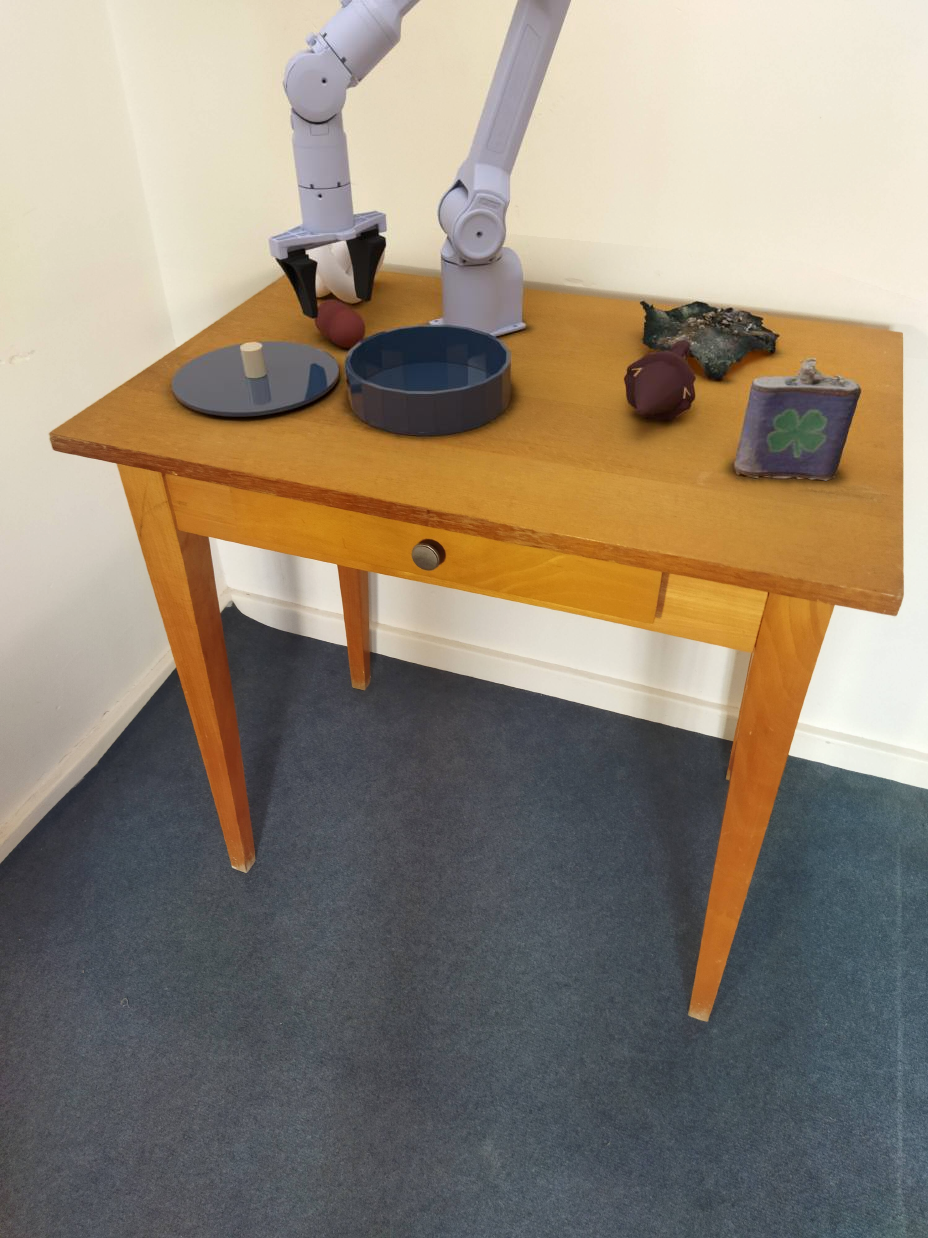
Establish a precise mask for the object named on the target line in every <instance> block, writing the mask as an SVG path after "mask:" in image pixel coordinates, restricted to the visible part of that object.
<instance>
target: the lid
mask: <svg viewBox="0 0 928 1238" xmlns="http://www.w3.org/2000/svg"><path fill="white" fill-rule="evenodd" d="M339 376H340V367H339V364H338V361H337V360H336V359H335V358H334V357H333V356H332V355H331V354H330V353H328V352H327V351H325V350H323V349H321V348H319V347H316V346H313V345H310V344H305V343H299V342H292V341H282V340H281V341H280V340H279V341H278V340H266V341H249V342H244V343H238V344H233V345H228V346H224V347H221V348H217V349H213V350H211V351H208V352H206V353H203V354H200V355H199V356H197V357H195V358H193V359H191V360H189V361H188V362H187V363H185V364H183V366H181V367H180V368H179V369H178V370H177V371H176V372H175V373H174V375H173V376H172V377H173V378H172V380H171V389H172V393H173V395H174V397H175V398H176V399H177V401H178V402H179V403H181V404H182V405H184V406H185V407H187V408H189V409H191V410H194V411H197V412H200V413H204V414H208V415H213V416H221V417H235V418H236V417H256V416H257V417H258V416H264V415H271V414H277V413H281V412H285V411H290V410H293V409H297V408H299V407H302V406H305V405H307V404H309V403H311V402H314V401H315V400H318V399H319V398H321V397H323V396H324V395H325V394H327V393H328V392H329V391H331V389H332V388H334V386H335V385H336V383H337V382H338V380H339Z"/></svg>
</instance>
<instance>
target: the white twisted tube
mask: <svg viewBox="0 0 928 1238" xmlns="http://www.w3.org/2000/svg"><path fill="white" fill-rule="evenodd" d="M379 235H381V233H379ZM306 254H308V255H309V258H310V259H312V260H315V261H316V262H318V264H317V270H316V297H317V298H322V297H325V296H328V295H330V294H331V293H332V294H333V295H334V296H335V297H336V298H337V299H339V300H341V302H345V303H348V304H357V303H360V302H361V301H362V300H361V299H359V298H357V296H356V292H355V287H354V278H353V269H352V263H351V259H350V254H349V251H348V247H347V244H346V241H340V242H336V243H333V244H329V245H325V246H321V247H318V248H314V249H310V250H306ZM385 257H386V249H385V250H384V252H383V254H382V256H381V258H380V261H379V263H378V266H377V270H376V274H375V276H377V274H378V273H379V271H380V270H381V267H382V266H383V264H384V261H385V259H386V258H385Z"/></svg>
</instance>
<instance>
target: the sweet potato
mask: <svg viewBox="0 0 928 1238" xmlns="http://www.w3.org/2000/svg"><path fill="white" fill-rule="evenodd" d="M314 325H315V326H316V327H315V328H317V330H318V331H319V332H320V333H321V334H322V335H323V336H324V337H325V338H327V339H328V340H329V341H331V342H332V343H334V344H335V345H337V346H339V347H341V348H343V349H344V348H345V349H346V348H347V349H351V348H352V347H354V346H355V345H356V344H357V343H358V342H359V341H361V340H363V339H364V337H365V333H366V324H365V321H364V319H363V317H362V316H361V315H360V314H359V313H358V312H357V311H355V310H354V309H352V308H351V307H349V306H348V305H346V304H345V303H343V301H339V300H337V299H327V300H324V301H323V302H321V303H320V304H319V305H318V317H317V318H314Z"/></svg>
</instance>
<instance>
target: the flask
mask: <svg viewBox="0 0 928 1238" xmlns="http://www.w3.org/2000/svg"><path fill="white" fill-rule="evenodd" d="M805 361H806V362H804V360H803V359H800V360H799V363H802V364H801V367H800V370H798V371H796V373H797V375H782V376H779V375H778V376H760V377H757V378H755V379H754V380H752V382H751V385H750V390H749V396H748V401H747V405H746V409H745V414H744V419H743V424H742V427H741V428H742V429H741V433H740V436H739V437H740V438H739V441H738V447H737V450H736V451H737V452H736V454H735V455H736V456H735V460H734V463H733V467H734V469H733V470H734V471H735V473H736V475H743V476H745V477H749V478H754V479H755V478H756V479H757V478H758V479H759V477H761V478H773V479H780V480H781V479H783V480H787V479H790V478H796V479H798V480H800V479H801V480H802V479H809V480H812V481H813V480H821V481H830V480H831V479H835V478H836V476H835V475H836V473H837V471H838V468H839V466H840V462H841V458H842V456H843V452H844V449H845V446H846V443H847V439H848V435H849V432H850V428H851V426H852V423H853V419H854V416H855V412H856V409H857V406H858V402H859V399H860V397H861V394H862V388H861V386H860V384H859V383H857V382H856V381H855V380H853V379H851V378H844V377H842V375H835V374H834V375H832V376H830V375H823V374H822V372H820V371H819V370H818V369H816V365H817V364H818V363H819V362H818V361H817V358H815V357H807V358H805Z"/></svg>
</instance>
